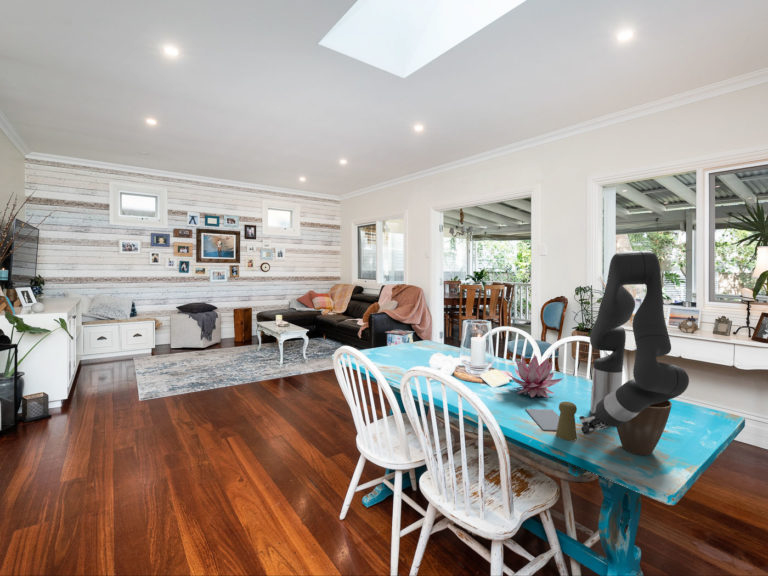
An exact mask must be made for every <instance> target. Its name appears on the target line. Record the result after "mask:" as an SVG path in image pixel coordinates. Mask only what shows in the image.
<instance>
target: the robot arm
mask: <svg viewBox="0 0 768 576" xmlns="http://www.w3.org/2000/svg"><path fill="white" fill-rule="evenodd" d="M611 257H612V258H611V259H610V263H609V269H608V274H607V279H606V285H605V289H604V293H603V295H602V298H601V301H600V303H599V304H600V305H599V309H598V312H597V316H596V320H595V322H594V323H593V326H592V328H591V330H590V335H589V342H590V345H591V347H592V348H593V349H594V350H598V351H603V352H611V353H610V354H609V355H606V356H604V357H600V358H596V359H594V361H593V366H592V367H593V370H592V383H591V384H592V386H591V396H590V415H589V416H588V417H586V416H583V415H581V416H579V420H580V423H581V424H582V427H581V428H580V430H581V431H582V434H583V436H584V435H587V436H588V435H591V434H592V433H594V432H595V431H597V432H598V431H599V430H605V429H608V428H610V427H611V428H616V427H620V426H621V425H623V424H624V423H626V422H628V421H629V420H631V419H632V418H634V417H635V416H637V415H638V414H639V413H640V412H641V411H643V410H644V409H646V408H647V407H649V406H650V405H652V404H656V403H660V402H663V401H667V400H669V401H670V400H672V399H675V398H678V397H679V396H681V395H682V394H683V393H684V392H685V391H686V390H688V387H689V384H690V377H689V374H688V373H687V371H686V370H685V369H684V368H682V367H680V366H678V365H676V364H669V363H664V362H660V361H658V360H657V358H659V357H663V356H667V355H668V354H669V353H670V352H671V351H672V344H671V340H670V335H669V332H668V327H667V323H666V319H665V311H664V310H665V309H664V298H663V285H662V284H663V283H662V274H661V265H660V261H659V258H658V256H657V254H656V253H655V252H654V251H651V250H639V251H636V250H635V251H634V250H633V251H621V252H617V253H615V254H614V255H612V256H611ZM626 285H627V286H628V285H629V286H630V285H633V286H635V285H645V287H646V291H645V292H646V293H645V296H644V298H643V300H642V302H641V303H640V304H639V305H640V306H638V308H637V310H636V312H635V314H634V316H633V313H634V311H635V309H636V308H635V307H636V302H635V298H634V296H633V295H632V294H631V292H630V291H629V290H627V288H625V286H626ZM632 316H633V320H632V332H633V336H634V337H633V338H634V342H635V347H636V348H635V355H634V356H635V357H634V358H635V359H634V362H633V363H634V365H633V369H632V370H633V372H632V374H633V375H632V376H633V379H630V380H628V381H626V382H625V383H623V367H624V357H625V347H626V337H627V334H626V330H625V328H624V327H623V325H625V324H626V323H628V322H629V320H630V319H631V318H632ZM614 390H615V391H614ZM612 391H613V392H612Z"/></svg>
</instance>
